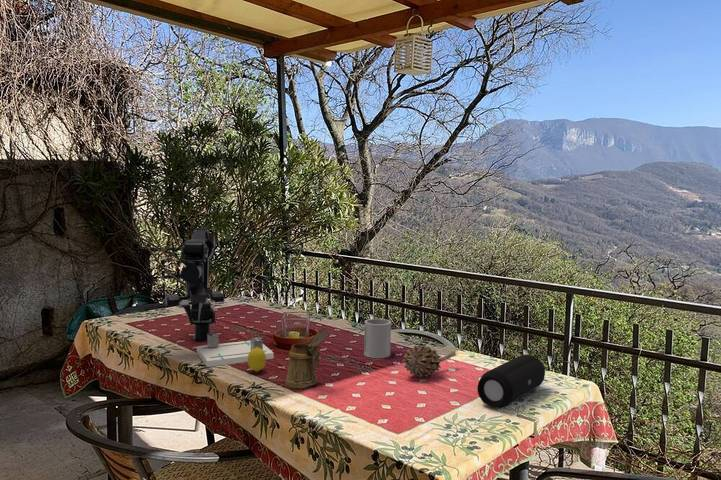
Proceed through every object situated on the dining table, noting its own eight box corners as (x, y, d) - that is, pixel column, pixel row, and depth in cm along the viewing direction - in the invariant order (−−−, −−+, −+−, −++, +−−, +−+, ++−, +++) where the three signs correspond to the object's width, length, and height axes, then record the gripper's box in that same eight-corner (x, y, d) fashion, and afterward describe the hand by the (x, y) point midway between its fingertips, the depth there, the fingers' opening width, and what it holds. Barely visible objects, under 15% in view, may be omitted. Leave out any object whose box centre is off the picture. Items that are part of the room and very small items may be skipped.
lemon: (261, 375, 162) (261, 350, 161) (244, 374, 163) (244, 348, 162) (268, 370, 167) (268, 345, 167) (252, 368, 168) (252, 343, 168)
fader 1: (207, 344, 185) (207, 333, 185) (216, 343, 187) (216, 332, 186) (209, 347, 182) (209, 336, 181) (218, 346, 183) (218, 335, 183)
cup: (395, 355, 185) (396, 321, 184) (378, 361, 178) (379, 326, 177) (375, 350, 191) (376, 317, 190) (358, 355, 185) (359, 321, 184)
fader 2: (250, 350, 180) (250, 338, 180) (259, 348, 182) (259, 337, 181) (253, 353, 177) (253, 341, 176) (262, 352, 178) (262, 340, 178)
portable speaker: (507, 415, 136) (509, 377, 135) (473, 405, 142) (474, 369, 141) (547, 389, 155) (548, 356, 154) (515, 381, 161) (516, 349, 160)
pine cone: (419, 386, 155) (420, 353, 155) (395, 377, 162) (396, 345, 162) (464, 370, 170) (465, 340, 169) (441, 363, 177) (441, 334, 177)
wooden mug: (314, 394, 147) (315, 331, 146) (279, 384, 155) (279, 323, 153) (334, 385, 154) (335, 325, 153) (299, 376, 162) (300, 318, 161)
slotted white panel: (196, 352, 185) (196, 346, 185) (258, 345, 195) (258, 339, 195) (207, 367, 169) (207, 360, 169) (273, 358, 179) (273, 352, 179)
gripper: (169, 283, 168) (169, 331, 169) (228, 279, 177) (228, 325, 178) (164, 278, 178) (165, 323, 179) (220, 275, 187) (220, 318, 188)
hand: (195, 323), depth 181 cm, fingers open, 3 cm apart
